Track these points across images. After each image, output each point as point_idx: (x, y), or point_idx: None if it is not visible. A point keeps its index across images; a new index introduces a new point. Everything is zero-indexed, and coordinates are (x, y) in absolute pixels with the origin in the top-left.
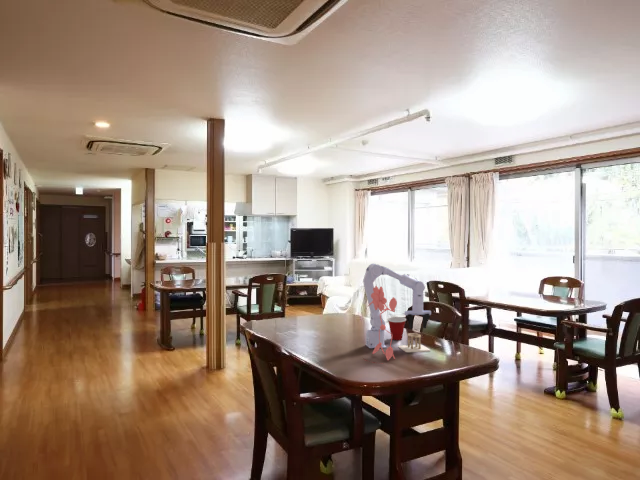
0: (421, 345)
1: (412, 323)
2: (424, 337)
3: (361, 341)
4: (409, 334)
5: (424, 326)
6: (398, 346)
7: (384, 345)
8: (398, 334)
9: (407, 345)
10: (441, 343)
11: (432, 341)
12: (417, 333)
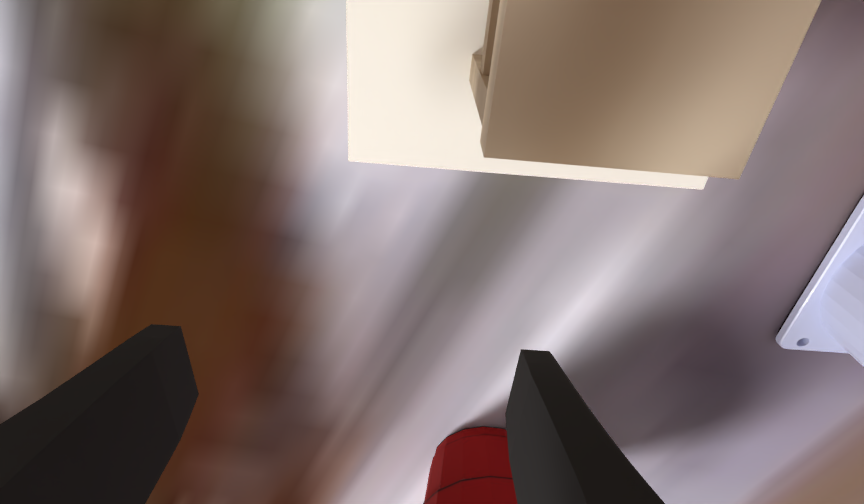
0: (369, 114)
1: (568, 461)
2: (179, 456)
3: (858, 461)
4: (801, 42)
5: (159, 366)
6: (698, 183)
7: (845, 256)
8: (505, 479)
9: (574, 167)
10: (23, 217)
11: (128, 322)
12: (495, 110)
